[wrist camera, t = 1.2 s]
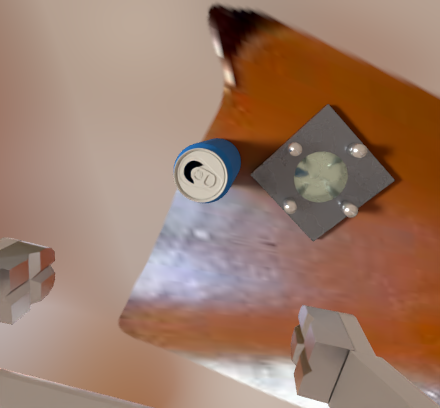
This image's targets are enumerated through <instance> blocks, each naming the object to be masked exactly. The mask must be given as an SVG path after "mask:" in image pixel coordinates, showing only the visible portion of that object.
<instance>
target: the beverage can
mask: <svg viewBox="0 0 440 408" xmlns="http://www.w3.org/2000/svg"><path fill="white" fill-rule="evenodd" d="M240 167H241V158H240V154H239V152H238V150H237V148H236V147H235V146H234V145H233V144H232V143H231V142H229V141H227V140H224V139H220V138H216V139H211V140H207V141H203V142H200V143H196V144H193V145H190V146H188V147H187V148H185V149H184V150H183V151H182V152H181V153H180V154H179V156H178V157H177V159H176V161H175V165H174V181H175V184H176V186H177V188H178V190H179V191H180V192H181V193H182V195H184V196H185V197H186V198H188V199H190V200H192V201H194V202H198V203H211V202H214V201H217V200H219V199H220V198H222V197H223V196H224V195H225V194H226V193H227V192H228V190H229V189H230V187H231V185H232V183H233V182H234V180H235V178H236V176H237V174H238V173H239V170H240Z"/></svg>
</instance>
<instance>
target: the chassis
mask: <svg viewBox="0 0 440 408" xmlns="http://www.w3.org/2000/svg"><path fill="white" fill-rule="evenodd" d="M251 176H252V177H253V178H254V179H255V180H256V181H257V182H258V183H259V184H260V185H261V186H262V188H263V189H264V190H265V191H266V192H267V193H268V194H269V195H270V196H271V197H272V198H273V199H274V200H275V201H276V203H277V204H278V205H279V206H280V207H281V208H282V209H283V210H284V211H285V212H286V213H287V214H288V215H289V216H290V217H291V219H292V220H293V221H294V222H295V223H296V224H297V225H298V226H299V227H300V228H301V229H302V230H303V231H304V232H305V234H306V235H307V236H308V237H309V238H310V239H311V240H312V241H315V240H316V239H317V238H319V237H320V236H321V235H323V234H324V233H325V232H327V231H328V230H329V229H331V228H332V227H333V226H335V225H336V224H337V223H339V222H340V221H341V220H343V219H344V218H345V217H355V216H356V215H357V214H358V208H359V207H360V206H361V205H363V204H364V203H365V202H367V201H368V200H369V199H371V198H372V197H373V196H375V195H376V194H377V193H379V192H380V191H381V190H383V189H384V188H385V187H387V186H388V185H389V184H391V183H392V182H393V181H395V180H394V179H393V178H392V176H391V175H390V174H389V173H388V172H387V171H386V170H385V168H384V167H383V166H382V165H381V164H380V163H379V162H378V160H377V159H376V158H375V157H374V156H373V155H372V153H371V152H370V151H369V150H368V149H367V147H366V146H365V145H364V144H363V143H362V142H361V141H360V140H359V139H358V137H357V136H356V135H355V134H354V133H353V132H352V131H351V129H350V128H349V127H348V126H347V125H346V124H345V123H344V121H343V120H342V119H341V118H340V117H339V116H338V115H337V113H336V112H335V111H334V110H333V109H332V108H331V107H330V105H329V104H327V105H326V106H324V107H323V108H322V109H321V110H320V111H319V112H318V113H317V114H316V115H315V116H313V117H312V118H311V119H310V120H309V121H308V122H307V123H306V124H305V125H304V126H302V127H301V128H300V129H299V130H298V131H297V132H296V133H295V134H294V135H293V136H292V137H290V138H289V139H288V140H287V141H286V142H285V143H284V144H283V145H282V146H281V147H279V148H278V149H277V150H276V151H275V152H274V153H273V154H272V155H271V156H270V157H268V158H267V159H266V160H265V161H264V162H263V163H262V164H261V165H260V166H259V167H258V168H256V169H255V170H254V171H253V172H252V173H251Z"/></svg>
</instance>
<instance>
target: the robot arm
mask: <svg viewBox="0 0 440 408" xmlns="http://www.w3.org/2000/svg"><path fill="white" fill-rule="evenodd" d="M54 261H55V253H54V251H53V250H52V248H50V247H45V246H41V245H37V244H33V243H29V242H25V241H21V240H17V239H12V238H2V239H0V322H2V323H7V324H14V323H15V322H16V321H17V320H19V319H20V318H21V317H22V316H23V315H25V314H26V313H27V312H28V311H29V310H30V307H31V304H33V303H36V302H39V301H41V300H42V299H44V298H45V297H46V296H47V295H48V294H49V292H50V290H51V289H52V287H53V284H54V280H55V272H54V270H53V269H52V267H51V266H50V265H51V264H52V263H53V262H54ZM298 317H299V322H300V324H299V325H298V326H297V327H295V328H294V332H293V335H292V341H291V358H292V361H293V363H294V364H295V365H296V369H295V372H294V378H295V384H296V390H297V395H299V396H303V397H306V398H310V399H314V400H317V401H321V402H324V403H328V404H329V405H328V406H329V407H330V408H440V406H439V405H438V404H437V403H435V402H434V401H433V400H432V399H431V398H429V397H428V396H427V395H426V394H425V393H423V392H422V391H421V390H420V389H419V388H417V387H416V386H415V385H414V384H413V383H411V382H410V381H409V380H408V379H407V378H405V377H404V376H403V375H402V374H401V373H399V372H398V371H397V370H396V369H395V368H393V367H392V366H391V365H390V364H389V363H387V362H386V361H385V360H384V359H383V358H381V357H377V356H376V355H375V353H374V351H373V349H372V348H371V346H370V344H369V342H368V340H367V338H366V336H365V334H364V332H363V330H362V328H361V326H360V324H359V322H358V321H357V319H356V317H355V316H354V315H352V314H346V313H341V312H335V311H330V310H325V309H320V308H315V307H310V306H305V305H303V306H302V307H301V309H300V312H299V315H298ZM0 408H153V407H150V406H146V405H142V404H138V403H135V402H131V401H127V400H123V399H119V398H115V397H111V396H107V395H104V394H99V393H96V392H91V391H88V390H84V389H80V388H76V387H72V386H68V385H64V384H60V383H57V382H53V381H49V380H45V379H41V378H37V377H34V376H30V375H26V374H22V373H18V372H14V371H10V370H6V369H2V368H0Z"/></svg>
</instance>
